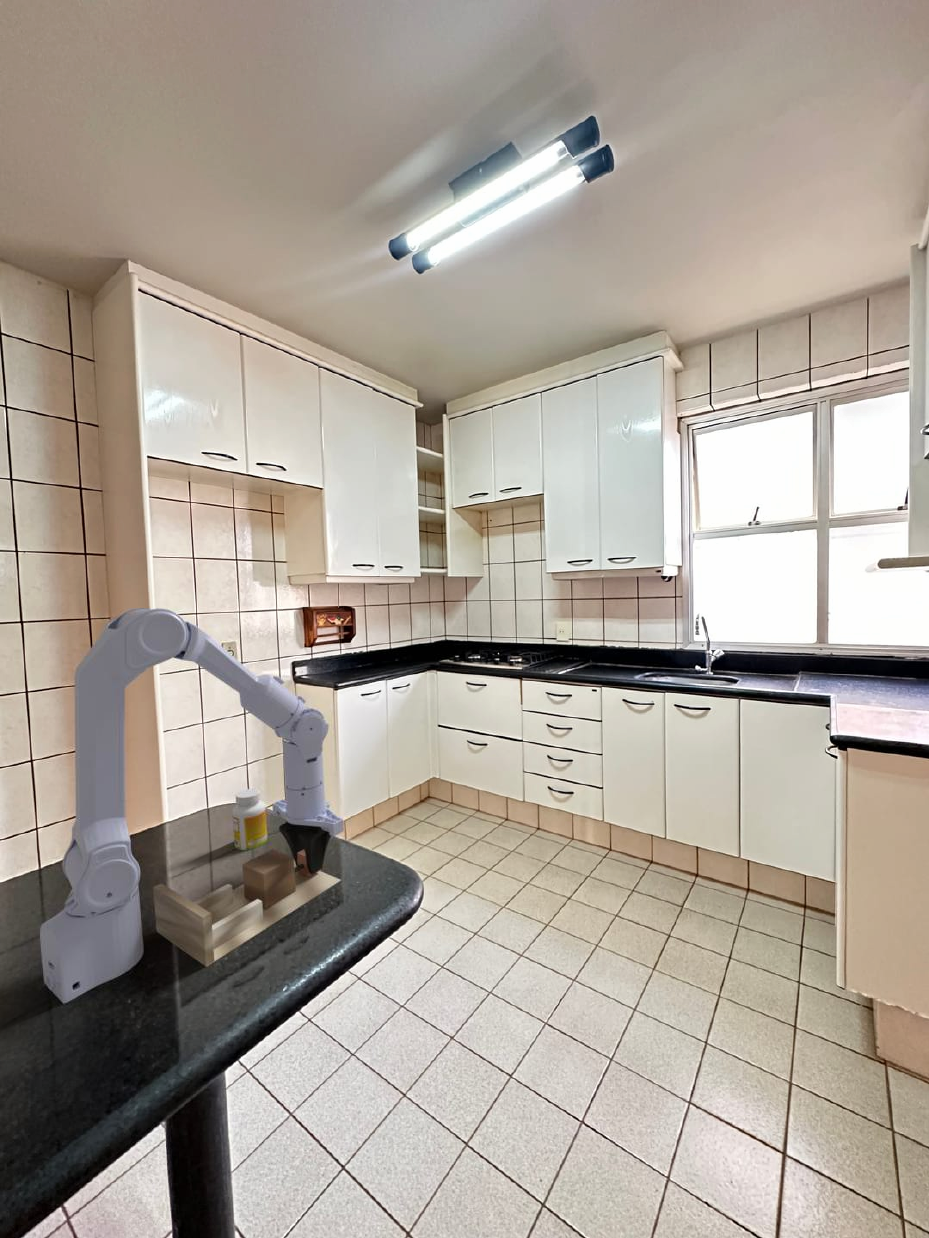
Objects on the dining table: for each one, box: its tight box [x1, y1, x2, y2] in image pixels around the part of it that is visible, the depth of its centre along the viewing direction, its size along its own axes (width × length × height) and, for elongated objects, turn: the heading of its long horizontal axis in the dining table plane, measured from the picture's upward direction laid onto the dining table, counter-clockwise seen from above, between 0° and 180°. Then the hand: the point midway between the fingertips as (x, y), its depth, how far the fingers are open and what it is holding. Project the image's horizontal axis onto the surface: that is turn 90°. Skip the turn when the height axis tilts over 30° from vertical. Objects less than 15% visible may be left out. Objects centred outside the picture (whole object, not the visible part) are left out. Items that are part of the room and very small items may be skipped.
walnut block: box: [241, 848, 322, 909], centre depth 78 cm, size 11×5×5 cm, turn 146°
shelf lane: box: [152, 861, 342, 967], centre depth 74 cm, size 21×12×7 cm, turn 146°
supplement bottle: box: [232, 788, 268, 851], centre depth 92 cm, size 5×5×10 cm
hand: (309, 867), depth 82 cm, fingers closed on walnut block, 2 cm apart
